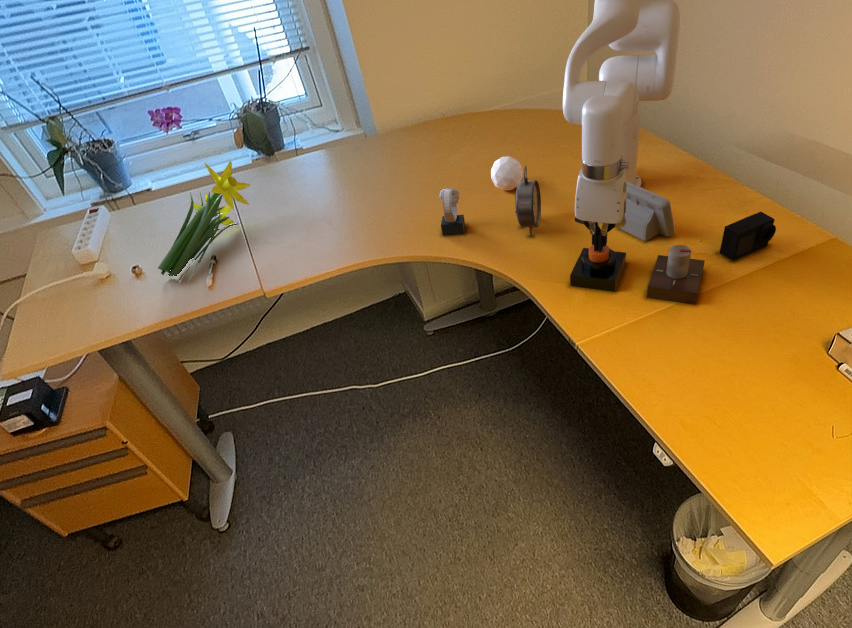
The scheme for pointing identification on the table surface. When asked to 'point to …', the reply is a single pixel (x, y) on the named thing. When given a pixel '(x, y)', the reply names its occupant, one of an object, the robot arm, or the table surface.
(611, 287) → the button box
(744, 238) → the digital camera
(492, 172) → the white faceted rounded piece
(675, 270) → the dial
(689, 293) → the dial panel
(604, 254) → the button
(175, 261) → the daffodil flowers
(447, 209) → the watch
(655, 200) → the digital clock
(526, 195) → the alarm clock
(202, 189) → the table surface
